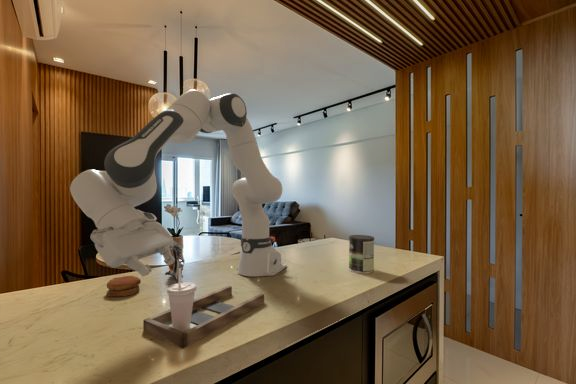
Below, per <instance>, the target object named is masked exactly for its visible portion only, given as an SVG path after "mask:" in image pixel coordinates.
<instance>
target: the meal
mask: <svg viewBox="0 0 576 384" xmlns="http://www.w3.org/2000/svg"><path fill="white" fill-rule="evenodd" d="M169 249H170V251H171V255H172V256H173V257H174V259H175V261H174V262H173V263H172V264H170V265H167V266H168V268H169V271H166V272H165V273H164V275H169V276H171V277H172V276H175V279H176V280H175V284H177V283H178V275H179V268H181V280H183V278H184V275H182V274H183V271H184V265H185V258H184V255H183V248H182V246H181V244H180V243H179V242H178V241H174V243H173V244H172V245H171V246H170V247H169Z"/></svg>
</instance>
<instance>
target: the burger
mask: <svg viewBox="0 0 576 384" xmlns="http://www.w3.org/2000/svg"><path fill="white" fill-rule="evenodd" d="M141 280H142V279H141V278H139V277H138V276H134V275H125V276H119V277H113V278H112V279H110V280H108V281H107V283H106V288H107V289H108V290H107V292H106V296H108V297H116V298H118V297H119V298H120V297H128V296H131V295H135V294H136V293H139V291H140V285H141V282H142V281H141Z"/></svg>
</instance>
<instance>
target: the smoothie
mask: <svg viewBox="0 0 576 384" xmlns="http://www.w3.org/2000/svg"><path fill="white" fill-rule="evenodd" d="M181 278H182V277H181V268H179V275H178V283H173V284H170V285H168V287H167V288H166V293H167V294H168V301H169V308H170V309H169V310H171V318H172V326H173V328H175V329H177V330H180V331H182V332H183V331H186V330H188V329H189V328H190V323H191V315H192V308H193V300H195V299H194V298H195V292H196V291H197V284H196V283H194V282H189V281H188V282H186V281H185V282H182V279H181ZM191 324H192V323H191Z"/></svg>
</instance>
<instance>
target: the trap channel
mask: <svg viewBox="0 0 576 384" xmlns="http://www.w3.org/2000/svg"><path fill="white" fill-rule="evenodd" d="M232 287H233V286H231V285H228V286H225V287H222V288H220V289H217V290H215V291H212V292H210V293H208V294H205V295H202V296H200V297H197V298H195V299H194V300H193V308H192V315H191V323H190V328H189V329H188V330H186V331H183V332H182V331H180V330H177V329H175V328H173V326H172V318H171V310H170V309H167V310H165V311H162V312H160V313H158V314H155V315H153V316H150V317H146V318H145V319H143V328H142V329H143V332H145V333H147V334H150V335H151V336H154V337H156V338H158V339H160V340H163V341H165V342H167V343H170V344H171V345H174V346H175V347H178V348H180V349H185V348H186V347H188V346H189V345H190V346H191V345H192V344H193V343H195V342H197V341H199V340H200V339H202V338H204V337H206V336H208V335H209V334H211V333H213V332H214V331H216V330H219V329H220V328H222V327H225V326H226V325H227V324H229V323H231V322H232V321H234V320H236V319H238V318H240V317H241V316H243V315H245V314H246V313H249V312H250V311H252V310H254V309H256V308H257V307H259V306H261V305H262V304H265V294H264V293H259V294H257V295H255V296H252V297H251V298H249V299H247V300H245V301H243V302H241V303H239V304H237V305H231V304H227V303H224V302H221V301H220V300H222V299H225V298H227V297H230V296H231V295H232V294H233V290H232V289H233V288H232ZM200 309H205V310H207V311H211V312H214V313H217V314H216V315H211V314H208V313H205V312H202V311H199V310H200Z"/></svg>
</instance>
